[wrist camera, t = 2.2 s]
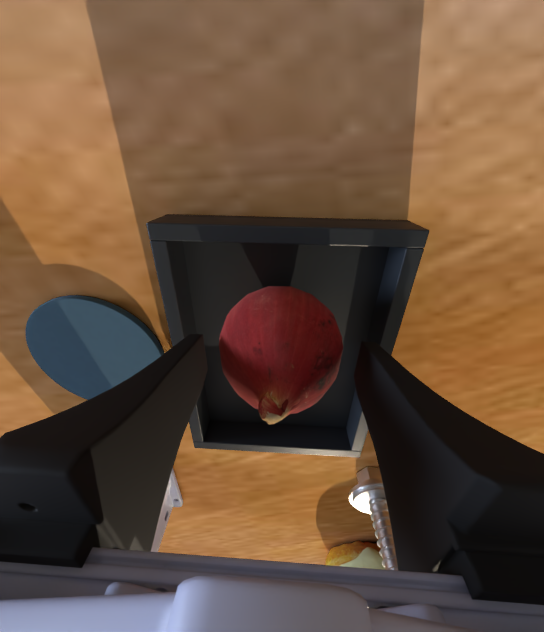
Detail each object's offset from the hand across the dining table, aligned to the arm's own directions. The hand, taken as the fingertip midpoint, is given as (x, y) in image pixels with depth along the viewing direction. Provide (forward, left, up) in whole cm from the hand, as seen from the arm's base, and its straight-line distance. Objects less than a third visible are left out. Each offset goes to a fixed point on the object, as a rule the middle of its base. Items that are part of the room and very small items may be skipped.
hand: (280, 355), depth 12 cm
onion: (0, 0, -5) cm, 5 cm away
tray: (-3, 0, -5) cm, 6 cm away
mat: (-5, +13, -5) cm, 15 cm away
